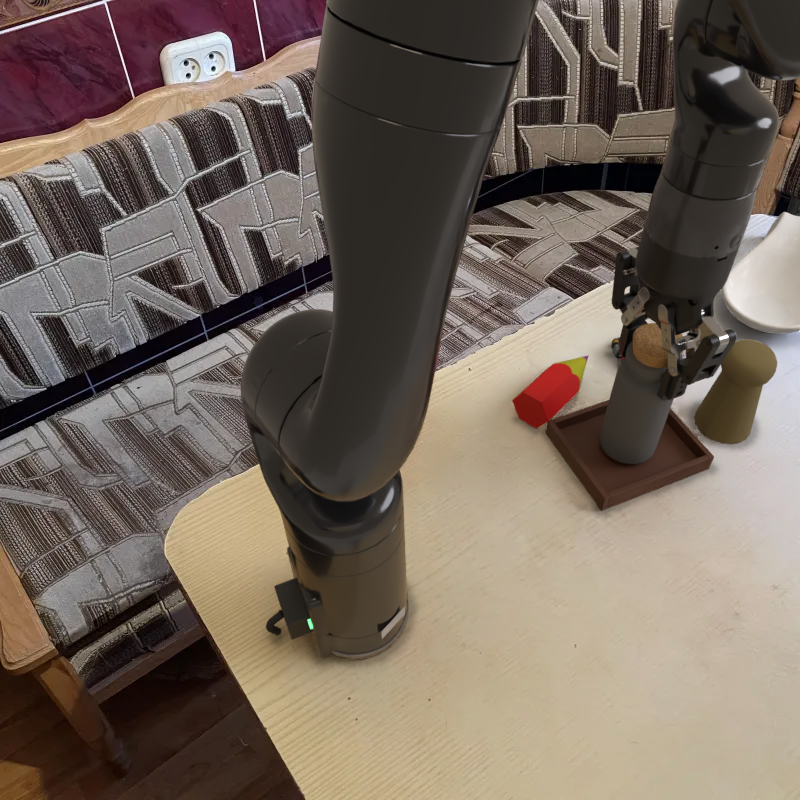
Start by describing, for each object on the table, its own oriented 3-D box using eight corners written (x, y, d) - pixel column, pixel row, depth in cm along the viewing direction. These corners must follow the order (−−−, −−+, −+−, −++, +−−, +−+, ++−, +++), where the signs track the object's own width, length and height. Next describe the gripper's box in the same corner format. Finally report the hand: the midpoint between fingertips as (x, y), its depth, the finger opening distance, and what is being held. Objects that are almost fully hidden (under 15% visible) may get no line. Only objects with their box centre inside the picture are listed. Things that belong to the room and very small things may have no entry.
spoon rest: (809, 358, 90) (832, 312, 85) (706, 333, 94) (722, 286, 88) (826, 250, 104) (846, 205, 99) (736, 232, 108) (752, 187, 103)
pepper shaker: (729, 397, 86) (761, 324, 78) (762, 435, 82) (799, 363, 74) (683, 410, 85) (710, 338, 77) (714, 450, 81) (746, 378, 73)
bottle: (656, 468, 78) (694, 365, 67) (598, 460, 79) (626, 357, 68) (654, 426, 82) (690, 322, 71) (599, 419, 83) (626, 314, 72)
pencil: (603, 377, 89) (610, 351, 86) (545, 434, 83) (551, 408, 80) (568, 359, 91) (574, 333, 88) (509, 413, 85) (513, 386, 82)
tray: (601, 511, 76) (605, 499, 75) (544, 433, 83) (547, 420, 82) (709, 469, 79) (714, 456, 78) (645, 397, 86) (650, 384, 85)
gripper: (603, 191, 64) (574, 338, 76) (714, 290, 55) (660, 439, 67) (677, 171, 66) (637, 318, 78) (796, 264, 57) (729, 413, 69)
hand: (648, 373), depth 73 cm, fingers closed on bottle, 5 cm apart
